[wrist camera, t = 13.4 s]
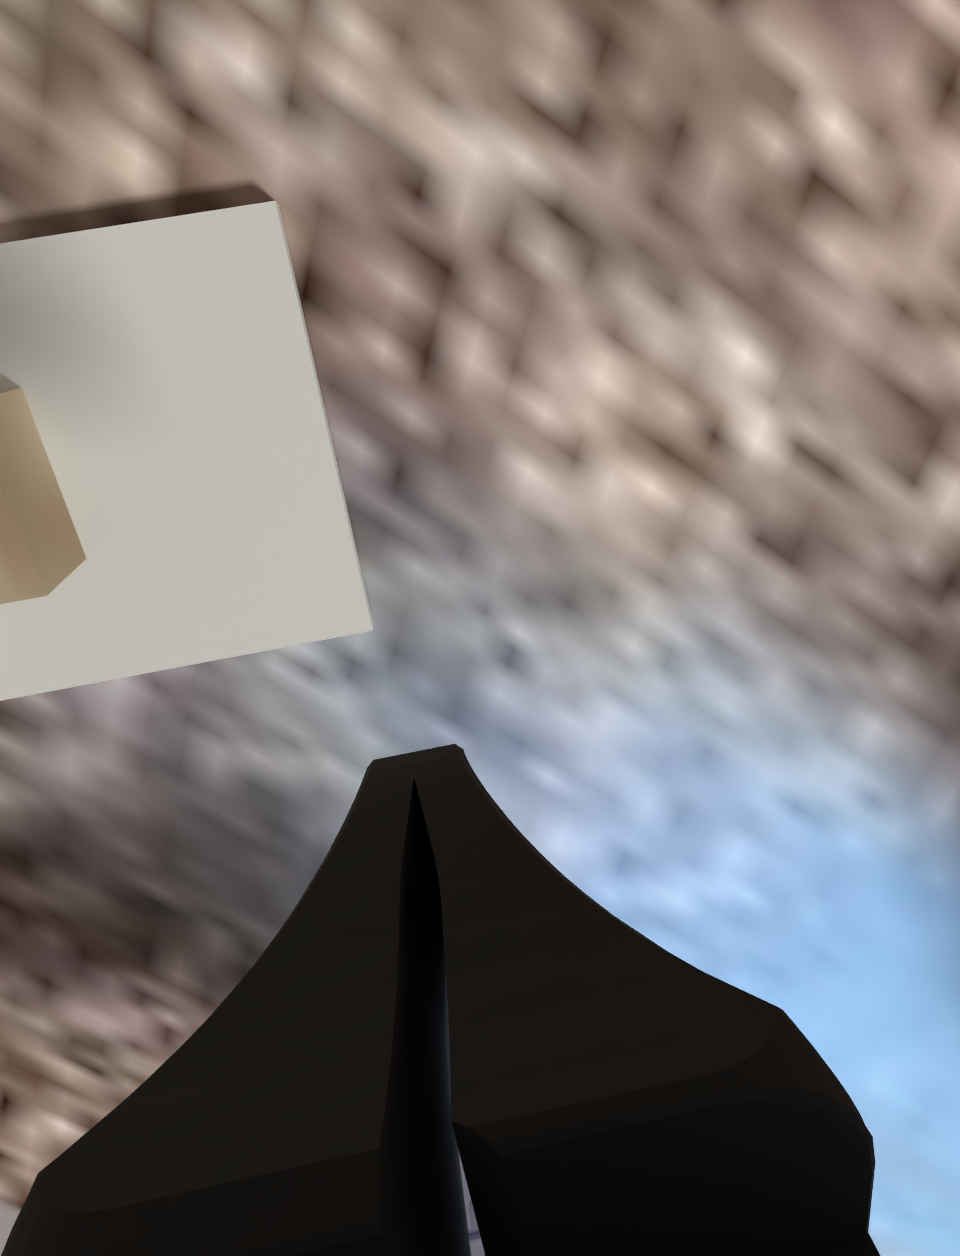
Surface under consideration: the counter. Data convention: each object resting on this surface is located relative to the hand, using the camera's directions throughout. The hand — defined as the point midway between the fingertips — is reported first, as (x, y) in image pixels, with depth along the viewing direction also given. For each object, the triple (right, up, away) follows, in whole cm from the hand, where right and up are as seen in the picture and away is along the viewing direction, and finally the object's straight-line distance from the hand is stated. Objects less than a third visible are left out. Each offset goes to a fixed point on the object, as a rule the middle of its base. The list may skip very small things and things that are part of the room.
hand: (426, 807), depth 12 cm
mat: (-10, +6, +7) cm, 13 cm away
